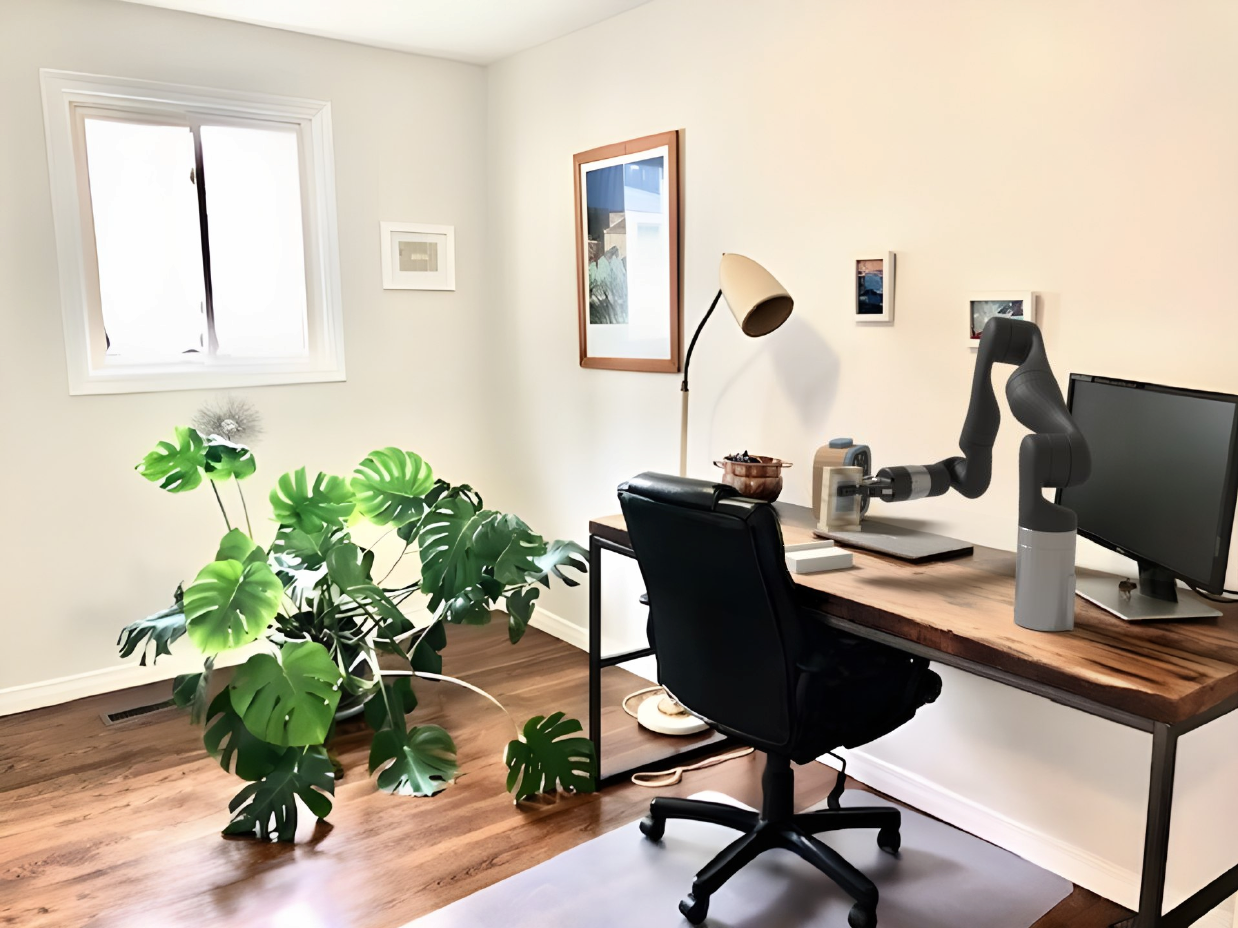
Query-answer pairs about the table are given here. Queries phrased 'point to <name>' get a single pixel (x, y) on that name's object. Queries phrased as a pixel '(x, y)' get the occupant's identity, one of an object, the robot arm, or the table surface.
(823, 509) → the frame
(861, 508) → the alarm clock
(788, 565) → the white rectangular block
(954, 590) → the table surface
